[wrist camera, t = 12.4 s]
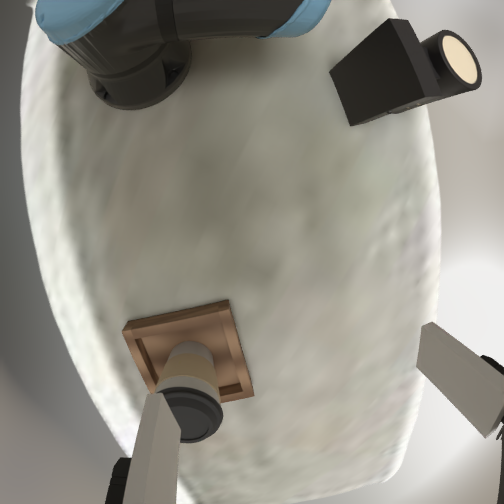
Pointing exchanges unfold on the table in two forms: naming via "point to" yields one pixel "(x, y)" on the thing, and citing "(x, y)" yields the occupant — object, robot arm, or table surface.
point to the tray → (198, 330)
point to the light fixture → (403, 71)
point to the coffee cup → (192, 391)
